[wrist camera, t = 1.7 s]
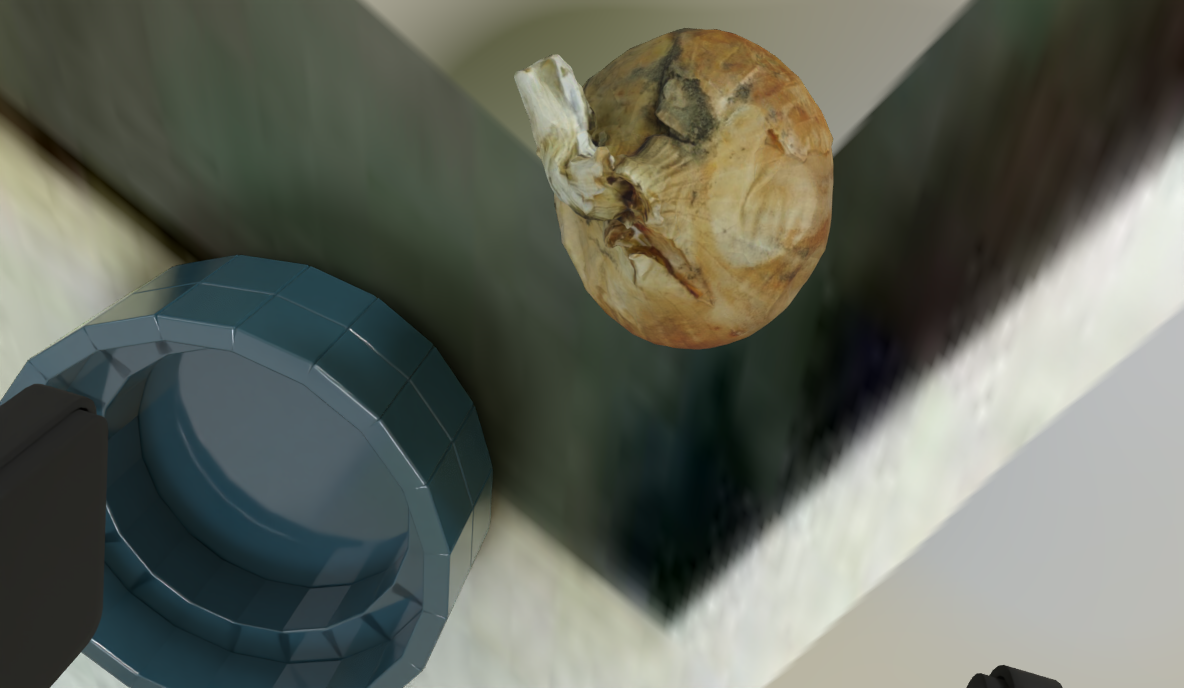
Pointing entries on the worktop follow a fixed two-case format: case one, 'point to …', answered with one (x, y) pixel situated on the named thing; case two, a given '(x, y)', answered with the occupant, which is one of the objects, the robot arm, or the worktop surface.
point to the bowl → (273, 479)
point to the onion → (686, 183)
